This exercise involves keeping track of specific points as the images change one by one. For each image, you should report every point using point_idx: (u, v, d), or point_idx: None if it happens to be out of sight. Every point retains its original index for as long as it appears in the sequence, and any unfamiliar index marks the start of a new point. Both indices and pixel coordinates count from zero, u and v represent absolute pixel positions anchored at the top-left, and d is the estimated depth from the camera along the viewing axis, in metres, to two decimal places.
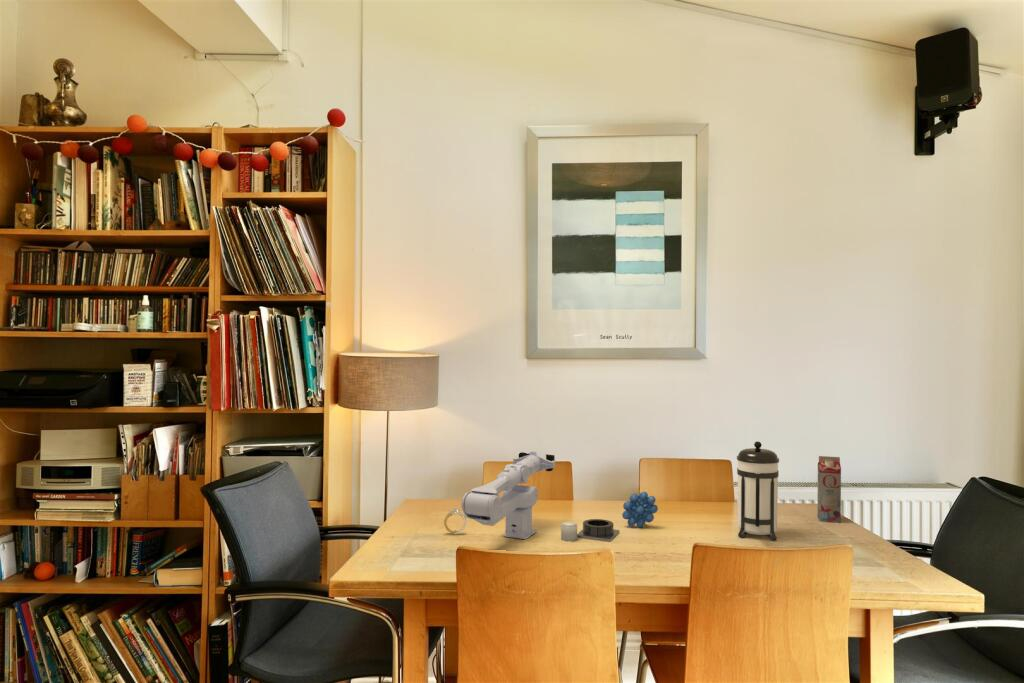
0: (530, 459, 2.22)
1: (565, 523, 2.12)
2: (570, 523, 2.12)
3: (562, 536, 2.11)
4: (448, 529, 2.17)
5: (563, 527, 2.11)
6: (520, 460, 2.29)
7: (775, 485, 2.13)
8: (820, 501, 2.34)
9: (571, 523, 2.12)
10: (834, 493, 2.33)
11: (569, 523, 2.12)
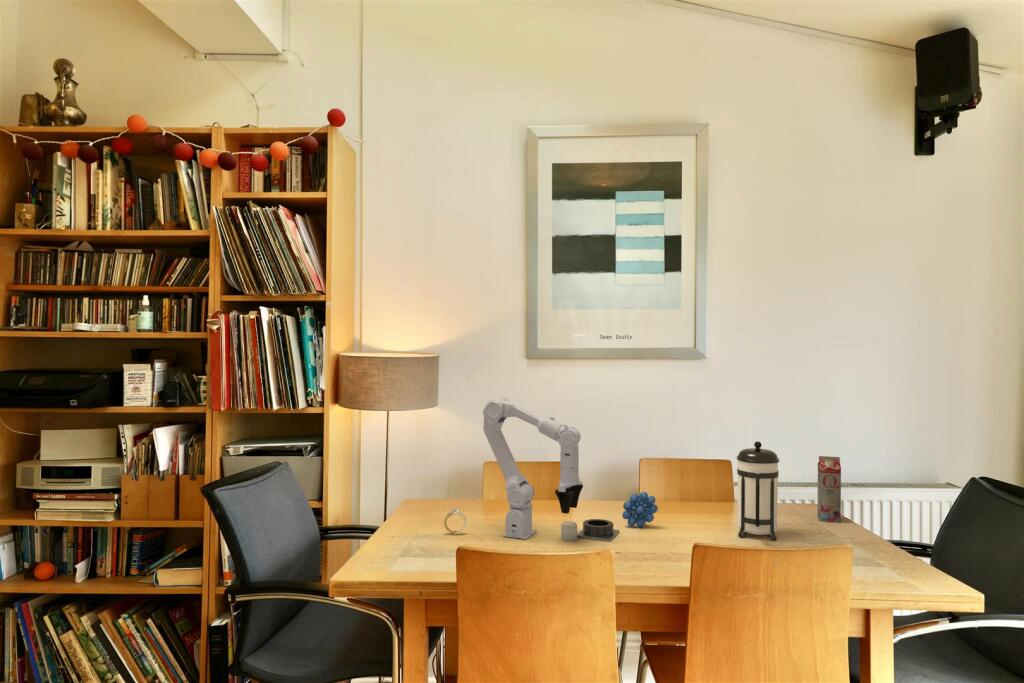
0: (576, 466, 2.10)
1: (565, 523, 2.12)
2: (570, 523, 2.12)
3: (562, 536, 2.11)
4: (448, 529, 2.17)
5: (563, 527, 2.11)
6: None
7: (775, 485, 2.13)
8: (820, 501, 2.34)
9: (571, 523, 2.12)
10: (834, 493, 2.33)
11: (569, 523, 2.12)
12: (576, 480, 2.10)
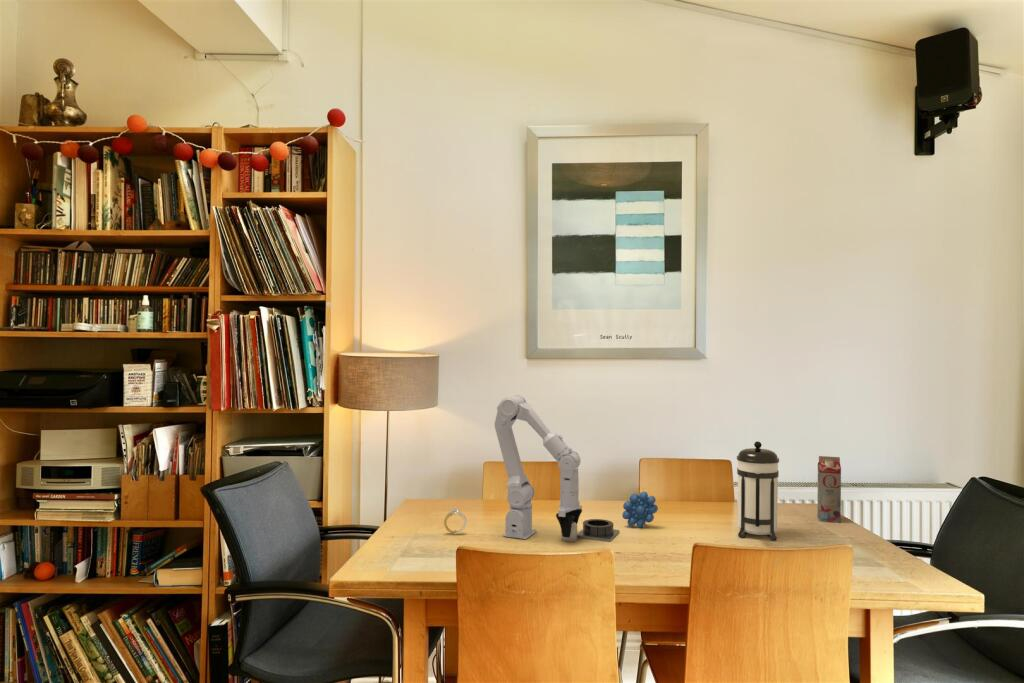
0: (576, 491, 2.10)
1: None
2: None
3: (562, 536, 2.11)
4: (448, 529, 2.17)
5: None
6: None
7: (775, 485, 2.13)
8: (820, 501, 2.34)
9: None
10: (834, 493, 2.33)
11: None
12: (576, 504, 2.10)
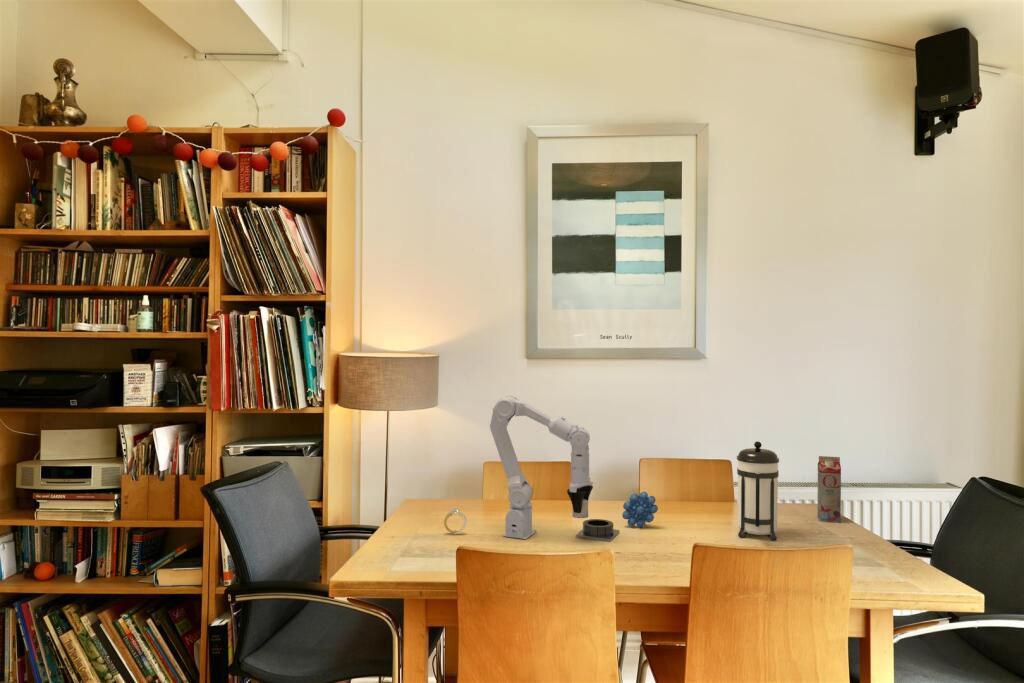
0: (587, 467, 2.12)
1: None
2: None
3: (573, 513, 2.13)
4: (448, 529, 2.17)
5: None
6: None
7: (775, 485, 2.13)
8: (820, 501, 2.34)
9: None
10: (834, 493, 2.33)
11: None
12: (587, 480, 2.12)
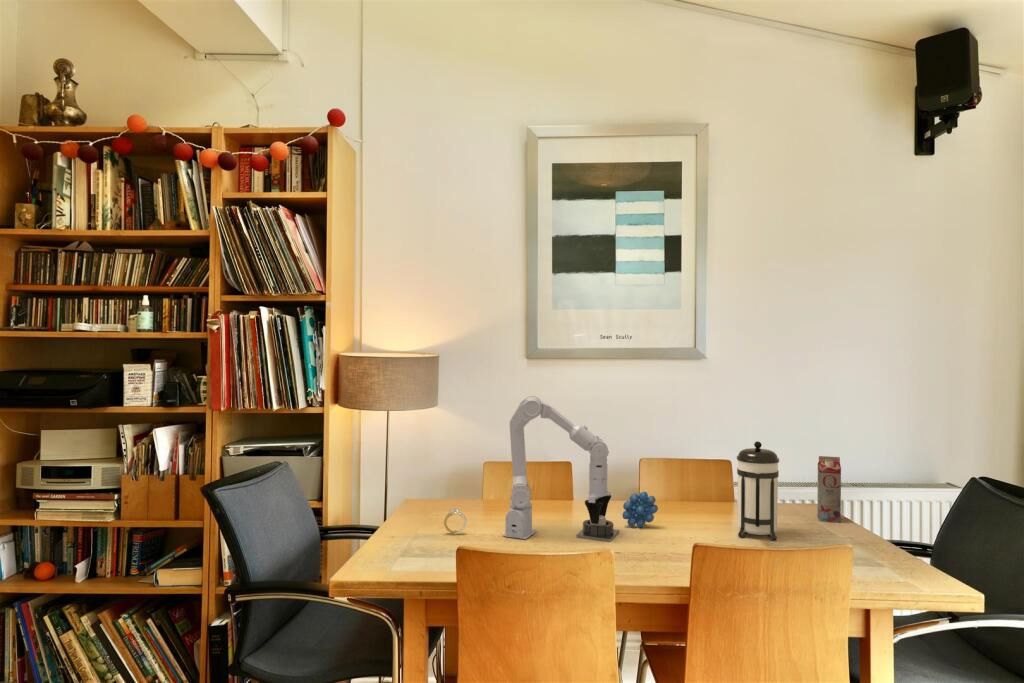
0: (606, 477, 2.16)
1: None
2: (599, 516, 2.17)
3: None
4: (448, 529, 2.17)
5: None
6: None
7: (775, 485, 2.13)
8: (820, 501, 2.34)
9: (600, 516, 2.17)
10: (834, 493, 2.33)
11: None
12: (605, 491, 2.15)
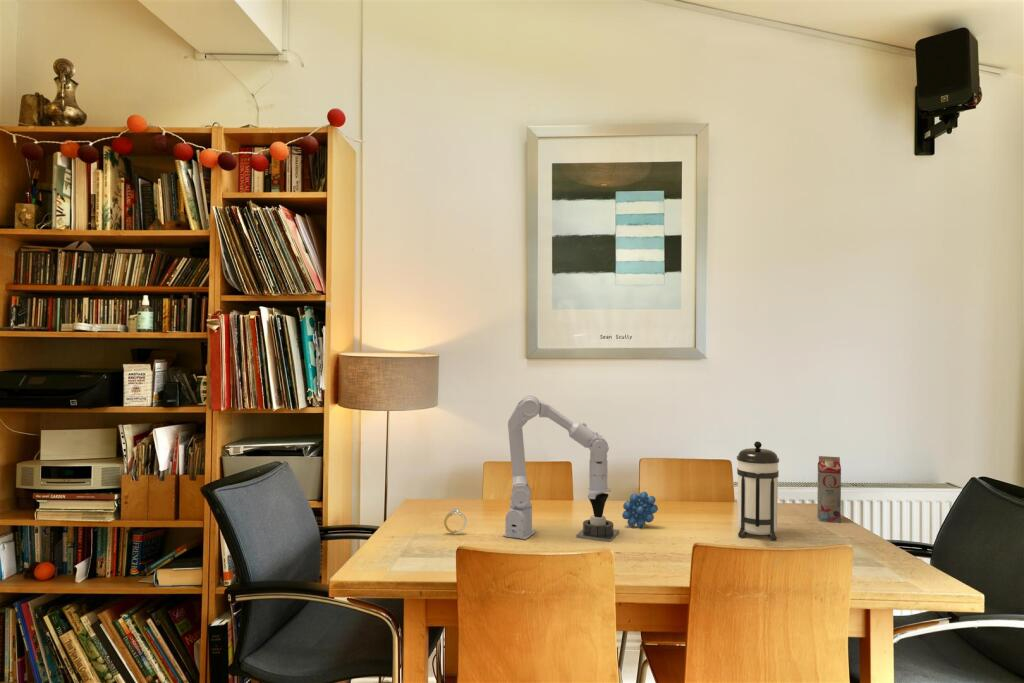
0: (606, 474, 2.16)
1: (594, 516, 2.17)
2: None
3: None
4: (448, 529, 2.17)
5: (592, 520, 2.16)
6: None
7: (775, 485, 2.13)
8: (820, 501, 2.34)
9: None
10: (834, 493, 2.33)
11: None
12: (605, 487, 2.15)
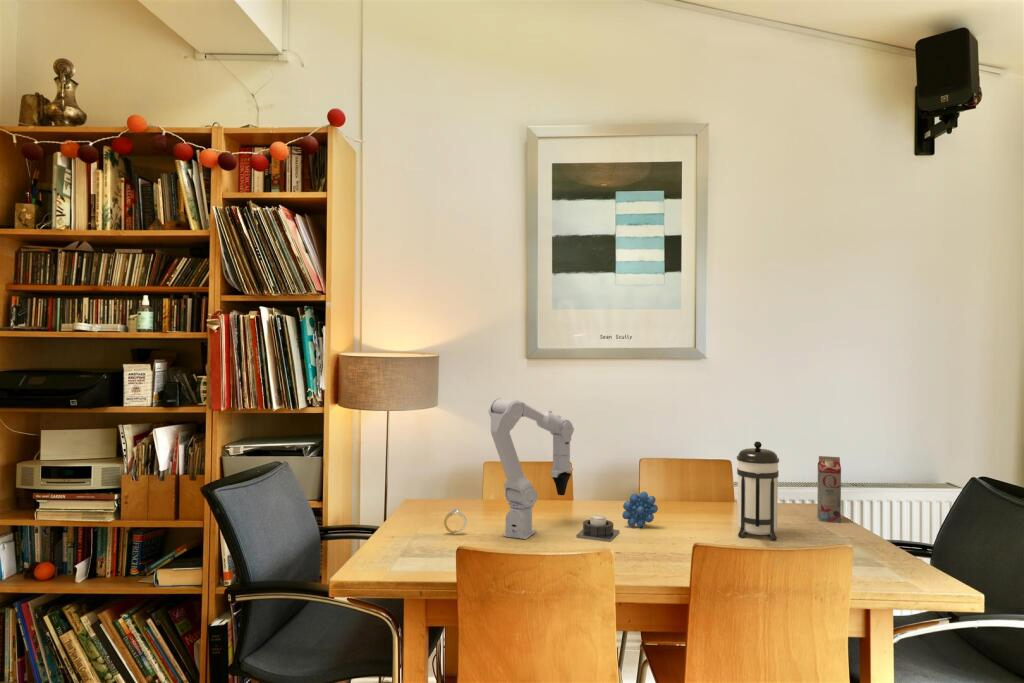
0: None
1: (594, 516, 2.17)
2: (599, 516, 2.17)
3: None
4: (448, 529, 2.17)
5: (593, 520, 2.15)
6: None
7: (775, 485, 2.13)
8: (820, 501, 2.34)
9: (600, 516, 2.17)
10: (834, 493, 2.33)
11: (598, 516, 2.17)
12: (567, 467, 2.27)
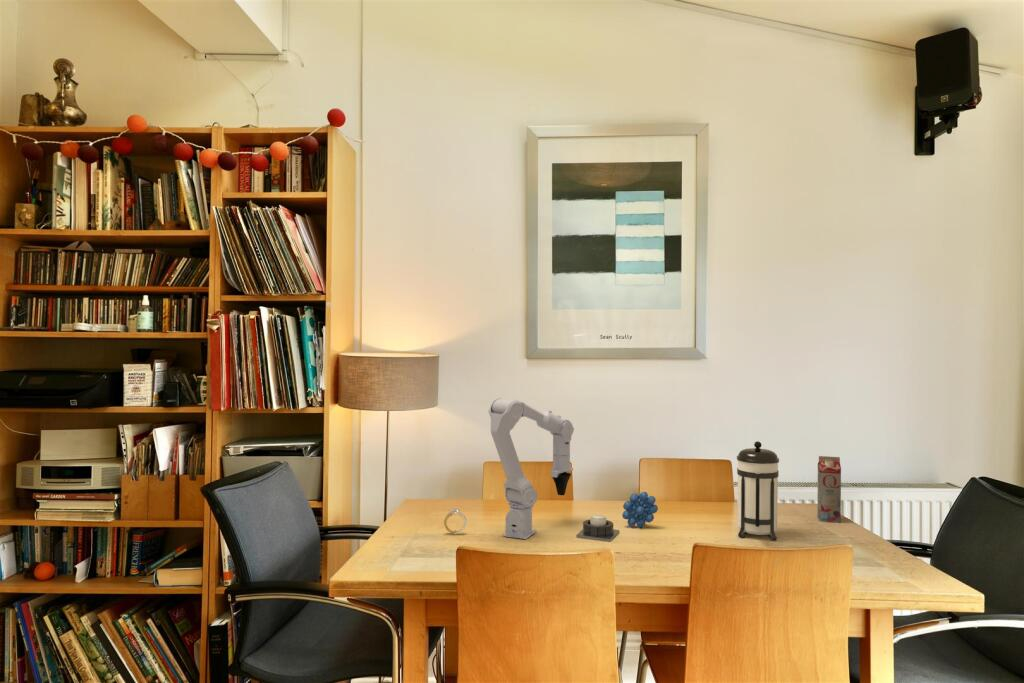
0: None
1: (594, 516, 2.17)
2: (599, 516, 2.17)
3: None
4: (448, 529, 2.17)
5: (593, 520, 2.16)
6: None
7: (775, 485, 2.13)
8: (820, 501, 2.34)
9: (600, 516, 2.17)
10: (834, 493, 2.33)
11: (598, 516, 2.17)
12: (567, 467, 2.27)
